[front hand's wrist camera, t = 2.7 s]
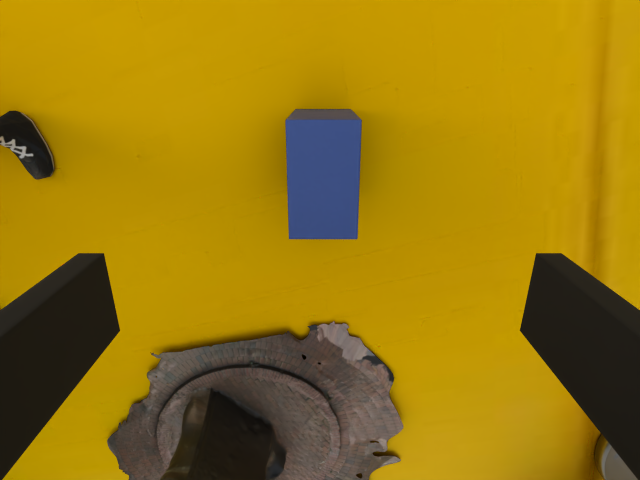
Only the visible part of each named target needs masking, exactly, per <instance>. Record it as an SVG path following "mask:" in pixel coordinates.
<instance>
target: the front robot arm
mask: <svg viewBox="0 0 640 480" xmlns="http://www.w3.org/2000/svg"><path fill="white" fill-rule="evenodd" d="M119 331H120V328H119V323H118V319H117V314H116V309H115V304H114V300H113V295H112V290H111V285H110V281H109V276H108V271H107V266H106V262H105V257H104V253H78V254H77V255H76V256H74V257H73V258H72V259H70V260H69V261H67V262H66V263H65V264H63V265H62V266H61V267H59V268H58V269H56V270H55V271H54V272H52V273H51V274H50V275H48V276H47V277H45V278H44V279H43V280H41V281H40V282H39V283H37V284H36V285H34V286H33V287H32V288H30V289H29V290H28V291H26V292H25V293H24V294H22V295H21V296H19V297H18V298H17V299H15V300H14V301H13V302H11V303H10V304H8V305H7V306H6V307H4V308H3V309H2V310H0V480H2V479H3V478H4V477H5V475H6V474H7V473H8V472H9V470H10V469H11V468H12V467H13V465H14V464H15V463H16V461H17V460H18V459H19V458H20V456H21V455H22V454H23V453H24V451H25V450H26V449H27V448H28V446H29V445H30V444H31V443H32V441H33V440H34V439H35V437H36V436H37V435H38V434H39V432H40V431H41V430H42V429H43V427H44V426H45V425H46V424H47V422H48V421H49V420H50V418H51V417H52V416H53V415H54V413H55V412H56V411H57V410H58V408H59V407H60V406H61V405H62V403H63V402H64V401H65V400H66V398H67V397H68V396H69V394H70V393H71V392H72V391H73V389H74V388H75V387H76V386H77V384H78V383H79V382H80V381H81V379H82V378H83V377H84V375H85V374H86V373H87V372H88V370H89V369H90V368H91V367H92V365H93V364H94V363H95V362H96V360H97V359H98V358H99V357H100V355H101V354H102V353H103V351H104V350H105V349H106V348H107V346H108V345H109V344H110V343H111V341H112V340H113V339H114V338H115V336H116V335H117V334H118V332H119ZM520 331H521V332H522V334H523V335H524V336H525V338H526V339H527V340H528V341H529V343H530V344H531V345H532V346H533V348H534V349H535V350H536V351H537V353H538V354H539V355H540V357H541V358H542V359H543V360H544V362H545V363H546V364H547V365H548V367H549V368H550V369H551V370H552V372H553V373H554V374H555V375H556V377H557V378H558V379H559V381H560V382H561V383H562V384H563V386H564V387H565V388H566V389H567V391H568V392H569V393H570V394H571V396H572V397H573V398H574V400H575V401H576V402H577V403H578V405H579V406H580V407H581V408H582V410H583V411H584V412H585V413H586V415H587V416H588V417H589V418H590V420H591V421H592V422H593V424H594V425H595V426H596V427H597V429H598V430H599V431H600V432H601V436H600V438H599V440H598V442H597V444H596V448H595V463H596V467H597V469H598V471H599V472H600V474H601V475H602V477H603V478H604V480H640V310H638V309H637V308H636V307H634V306H633V305H632V304H630V303H629V302H627V301H626V300H625V299H623V298H622V297H621V296H619V295H618V294H616V293H615V292H614V291H612V290H611V289H610V288H608V287H607V286H606V285H604V284H603V283H601V282H600V281H599V280H597V279H596V278H595V277H593V276H592V275H590V274H589V273H588V272H586V271H585V270H584V269H582V268H581V267H579V266H578V265H577V264H575V263H574V262H573V261H571V260H570V259H568V258H567V257H566V256H564V255H563V254H562V253H536V257H535V262H534V266H533V271H532V276H531V281H530V285H529V290H528V295H527V300H526V304H525V309H524V314H523V319H522V323H521V328H520Z"/></svg>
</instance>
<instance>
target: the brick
mask: <svg viewBox="0 0 640 480" xmlns="http://www.w3.org/2000/svg"><path fill="white" fill-rule="evenodd" d="M361 122H362V120H361V119H360V118H359V117H358V116H357V115H356V114H355V113H354V112H353V111H352V110H351V109H295V110H294V112H293V113H292V114H291V115H290V116H289V117H288V118H287V119H286V152H287V186H288V221H289V239H357V236H358V207H359V179H360V151H361Z"/></svg>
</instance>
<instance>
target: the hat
mask: <svg viewBox="0 0 640 480" xmlns="http://www.w3.org/2000/svg"><path fill="white" fill-rule="evenodd" d="M308 327H309V328H310V333H309V335H308V336H307V337H306V338H305V339H304V340H298V339H297V338H295V337H294V336H293V335H292V334H291V333H290V332H289V331H287V334H286V333H285V334H283V335H276V336H275V335H274V336H269V337H264V338H260V339H254V340H251V341H250V340H249V341H238V342H232V343H231V342H230V343H225V344H224V343H222V344H216V345H213V346H212V347H209V346H207V347H201V348H194V349H191V350H190V349H189V350H185V351H183V352H169V353H168V352H166V353H164V352H163V353H162V354H160V355H156V354H154V353H151V355H153V356H155V357H156V358H161V360H160V362H159V364H158V366H157V367H156V368H155V369H152V370H150V371H149V372H148V373H147V378H148V379H149V380H150V392H149V395H148V398H146V399H144V400H142V401H141V402H140V403H136V404H132V406H131V408H130V410H129V415H128V418H127V422H126V421H124V422H123V424H122V425H121V423H119V425H118V426H119V427H118V428H119V430H118V431H116V432H115V433H114V434H112V435H111V436H110V437H109V438H108V440H107V443H108V446H109V448H110V450H111V451H112V452H113V453H114V455H115V456H116V457H117V460H118V464H119V469H121V470H123V472H125V474H127V475H129V480H369V476H370V474H371V473H372V472H373V471H374V470H376V469H378V468H380V467H382V466H384V465H388V464H392V463H396V462H399V461H401V460H400V459H399V458H397V457H395V456H380V457H377V456H374V455H373V454H372V453H373V452H375V451H379V452H385V451H387V441H388V440H389V439H390V438H391V437H393V436H395V435H396V434H398V433H399V432H400V431H401V430H402V429H403V424H402V422H401V419H400V417H399V414H398V412H397V411H396V409H395V407H394V405H393V403H392V401H391V399H390V396H389V391H390V388H391V386H392V384H393V381H394V377H393V374H392V372H391V371H390V369H389V368H388V367H387V366H386V365H385V364H384V363H383V362H382V361H381V360H379V359H378V358H377V357H376V356H375V355H374V354H373V353H372V352H371V351H370V350H368V349H367V348H366V347H365V346H364V345H363V343H362V341H361V340H360V338H356V337H352V336H349V334H348V331H347V328H349V326H348V325H347V324H344V323H343V324H335V322H332V323H330V325H327V324H321V325H319V326H317V325H312V326H308ZM302 354H303V355H305V356H306V357H307V358H306V359H305V360H303V358H302ZM318 362H320V363H321V365H319V364H318ZM155 376H157V378H156V377H155ZM370 441H378V442H379V443H376V442H375V443H370ZM383 448H384V449H383ZM358 473H362V479H360V478H358V477H357V476H356V474H358Z"/></svg>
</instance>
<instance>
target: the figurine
mask: <svg viewBox="0 0 640 480" xmlns="http://www.w3.org/2000/svg"><path fill="white" fill-rule="evenodd" d="M0 145H3V146H5V147H7V148H10V149H11V150H12V151H13V152H14V153H15V155H16V156H17V157H18V158H19V160H20V161H21V162H22V164H23V165H24V167H25V168H26V170H27V171H28V172H29V173H30V174H31V175H32V176H33V177H34V178H35V179H42V178H46V177H50V176H52V173H53V171H54V162H53V156H52V154H51V152H50V150H49V147H48V145H47V143H46V142H45V140H44V138H43V137H42V135H41V134H40V132H39V130H38V129H37V127H36V125H35V124H34V122H33V121H32V120H31V119H30V118H28V117H27V116H26V115H24V114H23V113H21V112H18V111H9V112H7V113H6V114H4V115H3V116H1V117H0Z"/></svg>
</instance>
